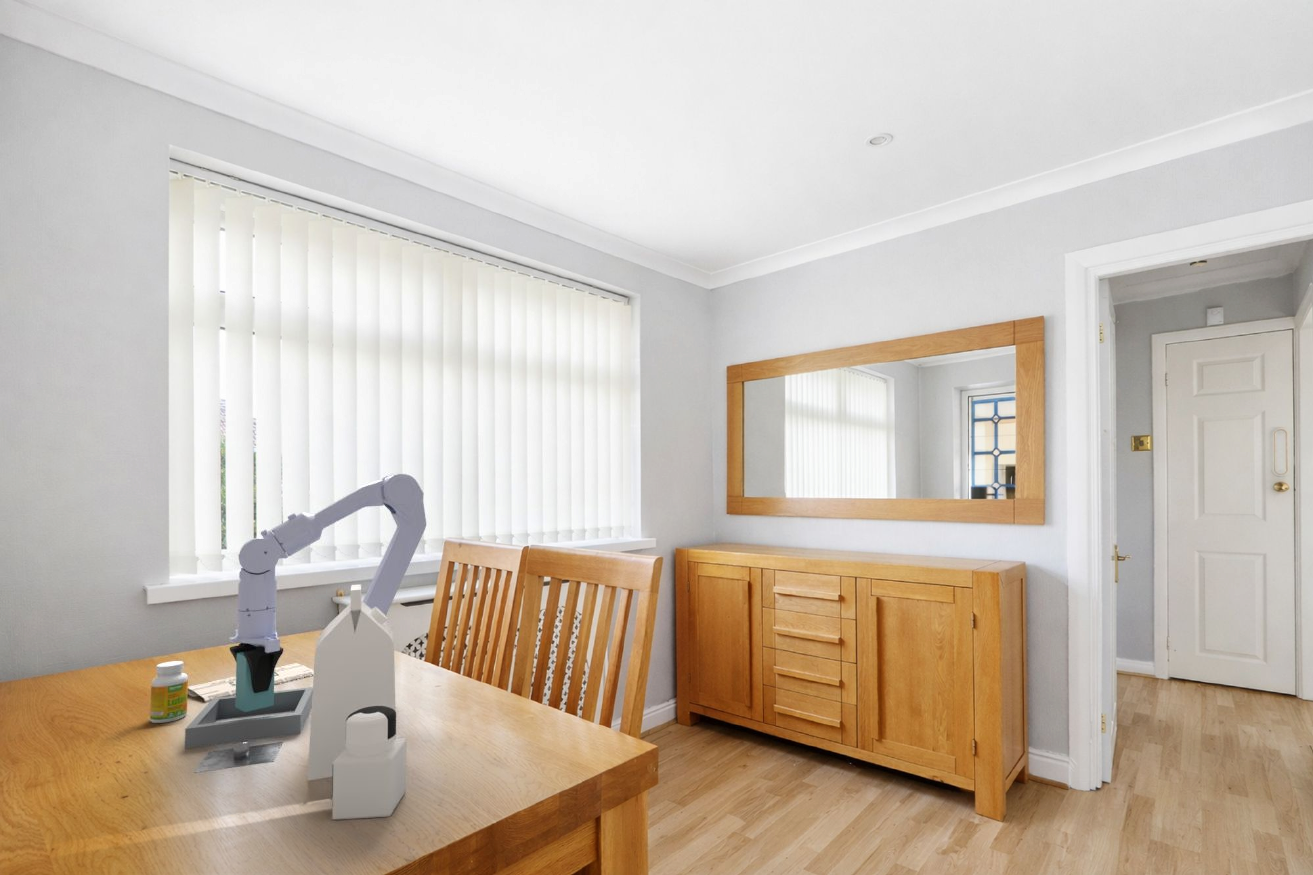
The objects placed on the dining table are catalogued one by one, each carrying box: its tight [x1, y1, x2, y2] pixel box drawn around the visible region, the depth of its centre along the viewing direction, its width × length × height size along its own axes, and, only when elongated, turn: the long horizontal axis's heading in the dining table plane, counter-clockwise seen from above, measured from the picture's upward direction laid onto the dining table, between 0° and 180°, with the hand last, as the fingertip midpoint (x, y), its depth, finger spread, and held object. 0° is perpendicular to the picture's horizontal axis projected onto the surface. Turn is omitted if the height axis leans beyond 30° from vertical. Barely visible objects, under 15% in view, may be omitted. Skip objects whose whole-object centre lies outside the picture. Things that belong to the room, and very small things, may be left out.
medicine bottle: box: [331, 706, 407, 821], centre depth 87 cm, size 7×7×12 cm
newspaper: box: [187, 662, 314, 704], centre depth 141 cm, size 23×12×2 cm, turn 145°
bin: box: [184, 686, 313, 750], centre depth 114 cm, size 16×16×4 cm
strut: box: [235, 652, 275, 712], centre depth 114 cm, size 4×4×9 cm
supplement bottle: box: [149, 660, 189, 724], centre depth 121 cm, size 5×5×10 cm
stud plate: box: [193, 740, 284, 774], centre depth 100 cm, size 10×8×3 cm
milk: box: [307, 583, 397, 782], centre depth 100 cm, size 12×12×26 cm
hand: (255, 688), depth 114 cm, fingers closed on strut, 4 cm apart
